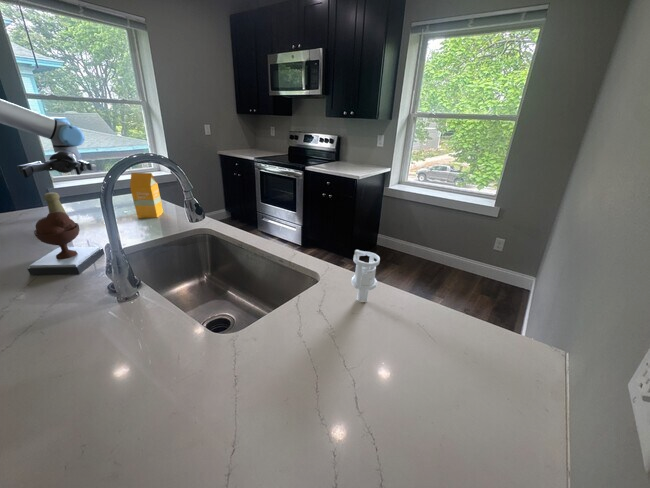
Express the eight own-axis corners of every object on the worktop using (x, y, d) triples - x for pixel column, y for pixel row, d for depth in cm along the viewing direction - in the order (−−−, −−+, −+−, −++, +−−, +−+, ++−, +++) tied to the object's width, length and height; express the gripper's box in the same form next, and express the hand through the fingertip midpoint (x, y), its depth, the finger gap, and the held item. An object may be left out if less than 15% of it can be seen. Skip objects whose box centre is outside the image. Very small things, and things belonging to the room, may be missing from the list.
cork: (46, 218, 134) (37, 194, 129) (59, 213, 139) (51, 190, 134) (58, 219, 133) (49, 195, 128) (70, 215, 138) (62, 191, 133)
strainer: (357, 290, 90) (362, 245, 84) (378, 298, 87) (384, 252, 80) (345, 300, 85) (349, 254, 79) (367, 310, 81) (372, 262, 75)
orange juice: (144, 212, 145) (135, 171, 136) (163, 212, 146) (155, 171, 137) (137, 217, 138) (126, 174, 129) (157, 217, 139) (148, 175, 130)
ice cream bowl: (84, 245, 104) (70, 203, 97) (90, 256, 97) (75, 212, 90) (43, 254, 97) (25, 210, 90) (47, 266, 90) (28, 220, 83)
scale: (29, 275, 91) (25, 266, 90) (61, 254, 104) (58, 246, 102) (79, 274, 93) (76, 265, 91) (104, 253, 105) (102, 245, 104)
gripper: (105, 169, 124) (100, 180, 107) (25, 173, 112) (5, 186, 96) (100, 150, 121) (94, 159, 104) (17, 152, 109) (-5, 162, 92)
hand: (51, 172), depth 100 cm, fingers open, 13 cm apart
